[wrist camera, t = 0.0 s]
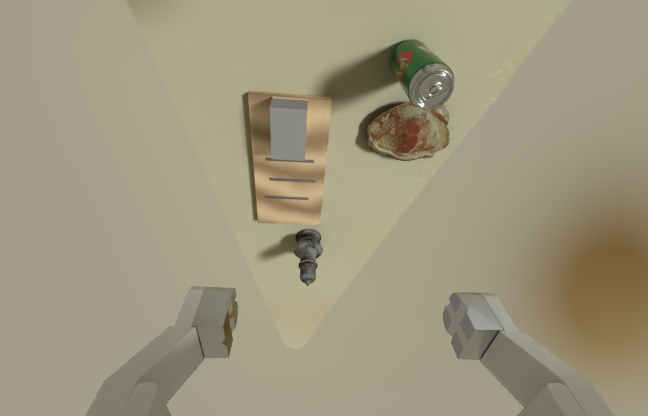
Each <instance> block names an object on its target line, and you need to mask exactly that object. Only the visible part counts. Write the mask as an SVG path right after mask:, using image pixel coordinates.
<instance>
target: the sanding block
mask: <svg viewBox="0 0 648 416" xmlns="http://www.w3.org/2000/svg"><path fill="white" fill-rule="evenodd" d="M307 107H308V99H306V98H292V97H277V96H273V97H272V101H271V105H270V127H271V155H272V159H277V160H296V161H305V151H306V129H307Z"/></svg>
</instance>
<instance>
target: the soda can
mask: <svg viewBox="0 0 648 416" xmlns="http://www.w3.org/2000/svg"><path fill="white" fill-rule="evenodd" d="M390 66H391V70H392V72H393V74H394V75H395V77H396V78H397V80H398V82H399V83H400V85H401V86H402V88H403V90H404V91H405V93H406V94H407V96H408V98H409V99H410V101H411V102H412V103H413V104H414V105H415V106H417V107H419V108H425V109H434V108H437V107H439V106H441V105H443V104H444V103H445V102H446V101H447V100H448V99H449V98H450V96H451V94H452V92H453V88H454V75H453V72H452V70H451V69H450V68H449V67H448V66H447V65H446V64H445V63H444V62H443V61H442V60H441V59H439V58H438V57H437V56H436V55H435V54H434V53H433V52H432V51H431V50H430V49H428V48H427V47H426V46H425V45H424V44H423V43H422V42H420V41H418V40H412V39H411V40H406V41H404V42H402V43H401V44H399V45H398V46H397V47H396V48H395V50H394V51H393V53H392V56H391V60H390Z"/></svg>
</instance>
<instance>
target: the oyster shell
mask: <svg viewBox="0 0 648 416" xmlns="http://www.w3.org/2000/svg"><path fill="white" fill-rule="evenodd" d="M448 121H449V113H448V111H447V110H446V109H445V106H442V105H441V106H439V107H437V108H434V109H425V108H419V107H417V106H415V105H414V104H413V103H412V102H409V103H404V104H400V105H397V106H395V107H393V108H391V109H389V110H387V111H385V112H384V113H382V114H380V115H379V116H377V117H376V118H375V119H374V120H373V121H372V122H371V123H370V124H369V125H368V126H367V129H366V138H367V143H368V144H367V146H368V147H369V148H370V149H371V150H373V151H375V152H376V153H379V154H382V155H387V156H390V157H392V158H394V159H397V160H401V161H410V160H416V159H420V158H423V159H425V158H431V157H433V156H434V153H436V152H438V151H440V149H443V148H445V147H446V146H447V145H448V144H449V140H450V138H449V136H448V135H449V131H448V128H447V125H448Z"/></svg>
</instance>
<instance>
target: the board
mask: <svg viewBox="0 0 648 416" xmlns="http://www.w3.org/2000/svg"><path fill="white" fill-rule="evenodd" d="M273 96H277V97H292V98H306V99H308V107H307V129H306V151H305V161H296V160H277V159H272V155H271V127H270V105H271V101H272V97H273ZM248 102H249V114H250V127H251V140H252V152H253V165H254V177H255V190H256V202H257V215H258V223H279V224H305V225H320V217H321V207H322V197H323V186H324V176H325V166H326V155H327V145H328V135H329V125H330V114H331V104H332V97H323V96H308V95H293V94H279V93H264V92H250V91H249V93H248Z"/></svg>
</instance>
